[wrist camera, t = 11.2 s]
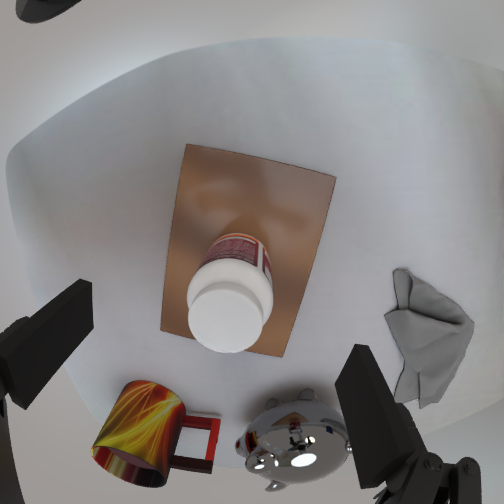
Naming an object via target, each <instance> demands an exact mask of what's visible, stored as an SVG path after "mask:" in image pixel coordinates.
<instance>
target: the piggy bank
mask: <svg viewBox="0 0 504 504" xmlns="http://www.w3.org/2000/svg"><path fill="white" fill-rule="evenodd" d="M235 449H236V451H237V453H238V454H239V455H240V456H242V457H245V458H246V462H245V467H246V469H247V470H248V471H249V472H251V473H255V474H259V475H260V476H262V477H264V478H266V479H268V480H270V481H271V484H270V485H269V486H268V487H267V488H266V489H265V490H266V491H268V492H275V491H279V490H282V489H284V488H286V487H287V486H288V485H289V484H301V483H307V482H311V481H316V480H319V479H322V478H324V477H326V476H328V475H329V474H331V473H333V472H335V471H336V470H337V469H339V467H341V466H342V465H343V463H344V462H345V461H346V459H347V457H348V455H349V454H353V453H352V449H351V445H350V441H349V437H348V433H347V429H346V425H345V421H344V418H343V416H342V415H341V414H340V413H339V412H338V411H337V410H336V409H335V408H334V407H332V406H331V405H329V404H327V403H325V402H322V401H318V400H317V399H316V397H315V393H314V391H313V390H312V389H304V390H302V391H301V392H300V395H299V397H298V400H296V401H291V402H287V403H283V404H281V402H280V401H279V400H278V399H275V398H271V399H268V400H267V402H266V411H264V412H262V413H261V414H260V415H258V416H257V417H256V418H255V419H254V420H253V421H252V422H251V423H250V424H249V425H248V427H247V428H246V430H245V432H244V433H243V435H242V436H241V437H240V438H239V439H238V440H237V441H236V443H235Z"/></svg>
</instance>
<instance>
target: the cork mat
mask: <svg viewBox="0 0 504 504" xmlns="http://www.w3.org/2000/svg"><path fill="white" fill-rule="evenodd" d="M335 181H336V177H334V176H330V175H327V174H323V173H320V172H316V171H312V170H308V169H305V168H301V167H297V166H293V165H289V164H285V163H280V162H276V161H272V160H268V159H263V158H259V157H254V156H249V155H245V154H240V153H235V152H230V151H224V150H219V149H214V148H208V147H202V146H196V145H190V144H186V148H185V153H184V158H183V163H182V168H181V173H180V179H179V184H178V190H177V196H176V202H175V208H174V214H173V221H172V227H171V234H170V241H169V249H168V257H167V265H166V274H165V283H164V293H163V303H162V315H161V328H160V330H161V331H164V332H168V333H171V334H175V335H179V336H183V337H187V338H191V339H195V340H197V339H196V338H195V337H194V336H193V334H192V332H191V330H190V327H189V324H188V313H189V308H188V304H187V292H188V287H189V284H190V282H191V280H192V278H193V276H194V274H195V272H196V271H197V269H198V267H199V265H200V263H201V262H202V260H203V258H204V256H205V255H206V253H207V251H208V249H209V248H210V247H211V245H212V244H213V243H214V242H215V241H216V240H217V239H219V238H221V237H222V236H225V235H228V234H232V233H241V234H246V235H249V236H252V237H254V238H255V239H257V240H258V241H259V242H261V243H262V244H263V246H264V247H265V249H266V250H267V252H268V254H269V258H270V262H271V274H272V287H273V307H272V311H271V314H270V316H269V318H268V320H267V321H266V323H265V324H264V325H263V327H262V331H261V334H260V336H259V338H258V339H257V341H256V342H255V343H254V344H253V345H252V346H250V347H249V348H247V349H245V350H244V351H249V352H254V353H260V354H265V355H271V356H277V357H283V354H284V351H285V348H286V345H287V343H288V340H289V337H290V334H291V331H292V328H293V325H294V322H295V319H296V316H297V313H298V310H299V307H300V304H301V301H302V298H303V294H304V291H305V288H306V285H307V282H308V278H309V275H310V272H311V269H312V265H313V262H314V259H315V255H316V252H317V248H318V245H319V241H320V238H321V234H322V231H323V227H324V223H325V220H326V216H327V212H328V209H329V205H330V201H331V197H332V193H333V189H334V185H335Z"/></svg>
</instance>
